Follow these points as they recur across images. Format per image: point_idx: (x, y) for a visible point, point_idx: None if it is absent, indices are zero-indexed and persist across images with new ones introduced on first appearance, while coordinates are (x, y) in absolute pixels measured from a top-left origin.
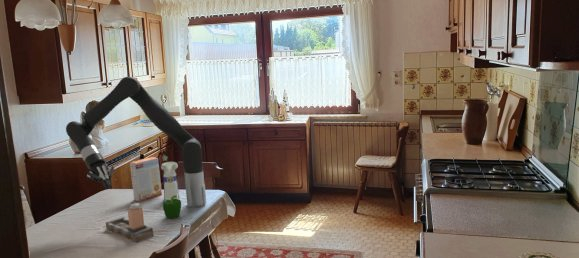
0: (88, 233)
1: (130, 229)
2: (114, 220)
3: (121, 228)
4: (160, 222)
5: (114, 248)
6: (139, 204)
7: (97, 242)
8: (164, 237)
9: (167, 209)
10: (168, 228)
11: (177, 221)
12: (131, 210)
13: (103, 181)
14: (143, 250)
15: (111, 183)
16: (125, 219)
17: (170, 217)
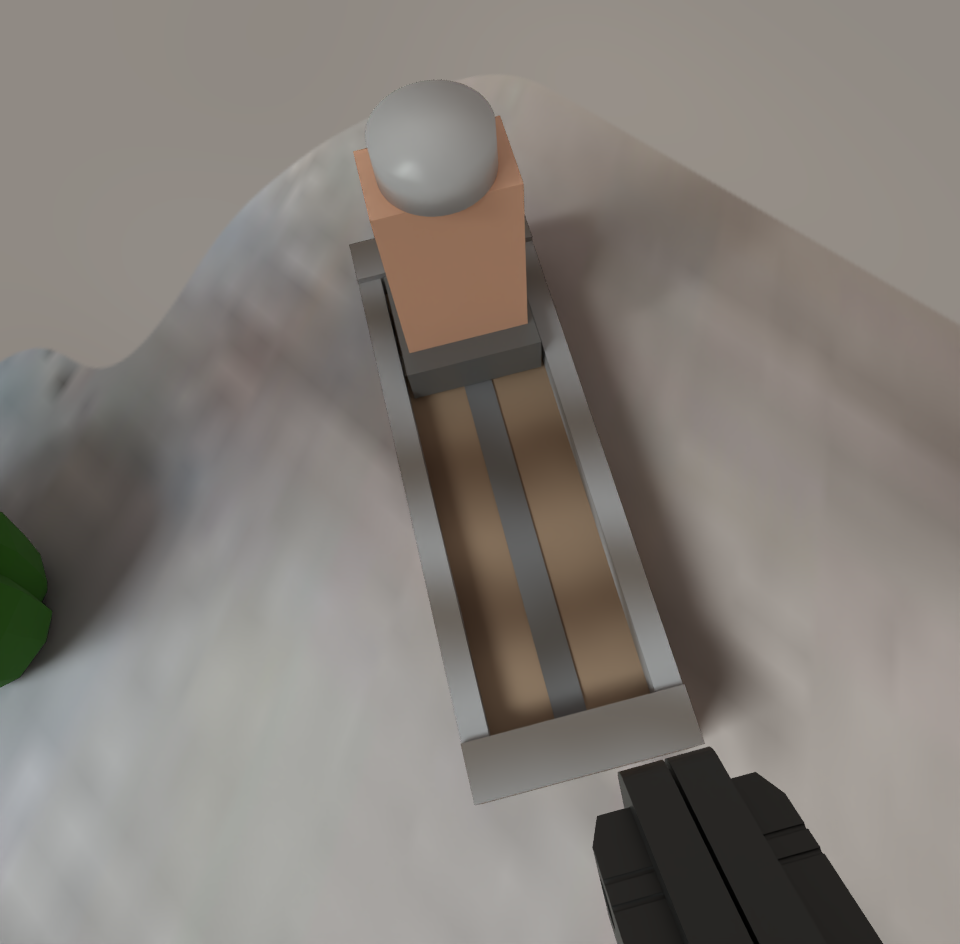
0: (891, 779)
1: (527, 308)
2: (596, 725)
3: (585, 429)
4: (167, 554)
5: (699, 246)
6: (378, 104)
7: (816, 451)
8: (314, 216)
9: (3, 532)
10: (197, 362)
11: (46, 468)
12: (498, 124)
13: (877, 941)
14: (525, 105)
15: (597, 856)
16: (470, 686)
17: (41, 560)
